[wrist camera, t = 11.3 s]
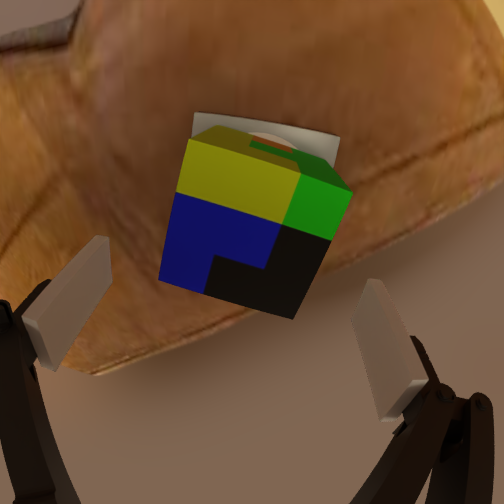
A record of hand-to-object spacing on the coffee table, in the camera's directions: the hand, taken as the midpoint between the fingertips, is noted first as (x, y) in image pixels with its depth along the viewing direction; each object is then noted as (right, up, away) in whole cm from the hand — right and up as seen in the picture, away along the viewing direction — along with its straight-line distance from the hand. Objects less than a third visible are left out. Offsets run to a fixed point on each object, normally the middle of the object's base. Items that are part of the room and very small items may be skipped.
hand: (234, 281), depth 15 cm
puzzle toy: (+1, +7, +13) cm, 15 cm away
